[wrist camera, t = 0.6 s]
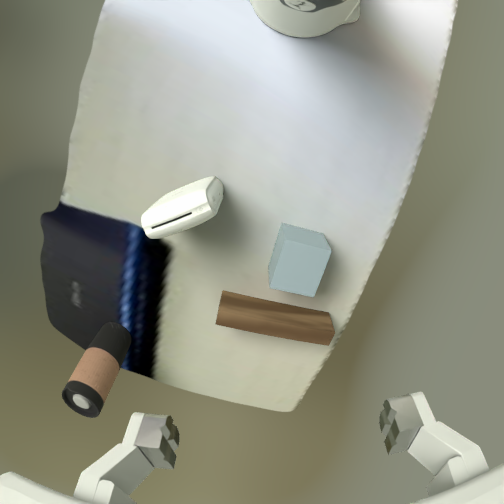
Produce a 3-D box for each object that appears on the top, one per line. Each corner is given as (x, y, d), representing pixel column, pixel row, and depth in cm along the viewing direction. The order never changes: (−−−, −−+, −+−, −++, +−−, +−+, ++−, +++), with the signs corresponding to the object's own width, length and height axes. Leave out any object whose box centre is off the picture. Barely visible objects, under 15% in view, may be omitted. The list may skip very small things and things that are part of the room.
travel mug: (132, 352, 61) (102, 423, 43) (101, 342, 61) (65, 408, 43) (133, 326, 58) (97, 399, 40) (100, 316, 58) (57, 383, 39)
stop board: (222, 290, 54) (218, 310, 49) (328, 312, 56) (335, 332, 50) (219, 304, 55) (215, 324, 50) (323, 325, 57) (328, 345, 52)
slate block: (281, 222, 49) (284, 239, 43) (322, 233, 50) (331, 250, 43) (268, 266, 52) (269, 287, 46) (307, 275, 53) (313, 297, 46)
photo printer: (218, 171, 46) (205, 189, 34) (228, 196, 47) (218, 222, 36) (159, 194, 47) (130, 219, 36) (169, 218, 49) (144, 249, 38)
